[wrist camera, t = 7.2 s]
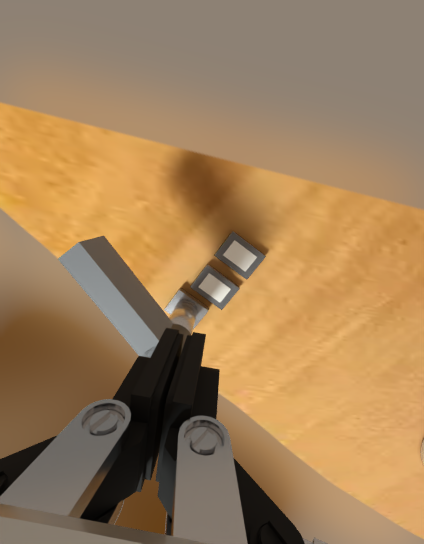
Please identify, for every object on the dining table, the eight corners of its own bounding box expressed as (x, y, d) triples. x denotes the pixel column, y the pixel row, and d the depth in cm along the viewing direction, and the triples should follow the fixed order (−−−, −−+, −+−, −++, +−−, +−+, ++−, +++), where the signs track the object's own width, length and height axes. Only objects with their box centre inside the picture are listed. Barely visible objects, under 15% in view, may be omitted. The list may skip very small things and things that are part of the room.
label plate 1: (239, 287, 29) (239, 288, 29) (221, 308, 30) (221, 310, 29) (207, 263, 29) (207, 265, 28) (190, 285, 30) (190, 287, 29)
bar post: (208, 308, 30) (202, 339, 23) (193, 326, 31) (183, 363, 24) (180, 287, 30) (165, 313, 23) (165, 307, 30) (146, 338, 23)
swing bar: (110, 230, 21) (86, 236, 17) (200, 346, 23) (195, 372, 19) (79, 254, 21) (50, 264, 18) (170, 365, 23) (160, 393, 20)
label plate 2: (265, 255, 28) (265, 256, 28) (246, 278, 29) (246, 279, 28) (232, 230, 28) (232, 231, 27) (214, 254, 28) (214, 255, 28)
